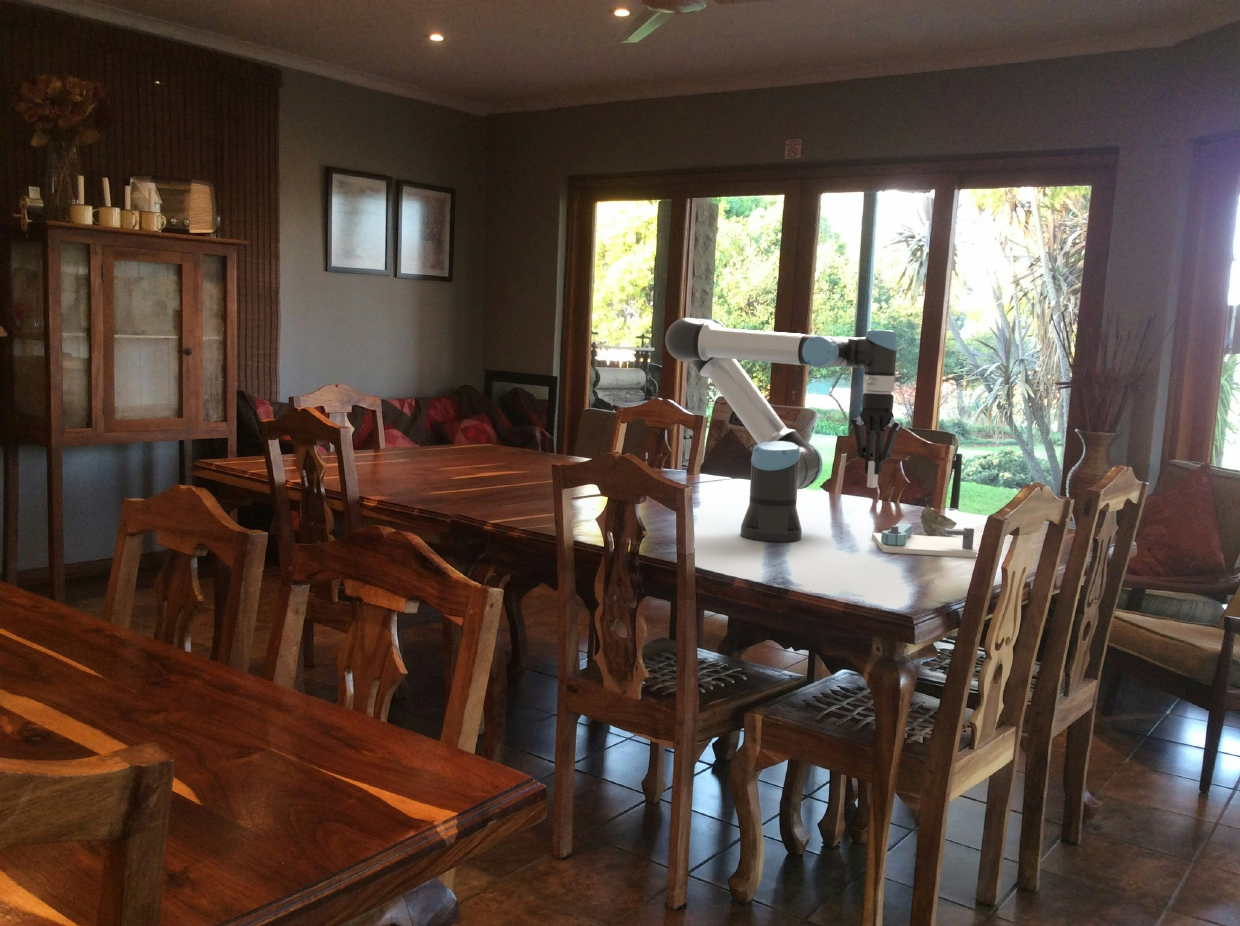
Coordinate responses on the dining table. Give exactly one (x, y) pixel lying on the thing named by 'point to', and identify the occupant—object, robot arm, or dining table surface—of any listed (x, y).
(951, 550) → the board
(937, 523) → the rock
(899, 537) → the link
